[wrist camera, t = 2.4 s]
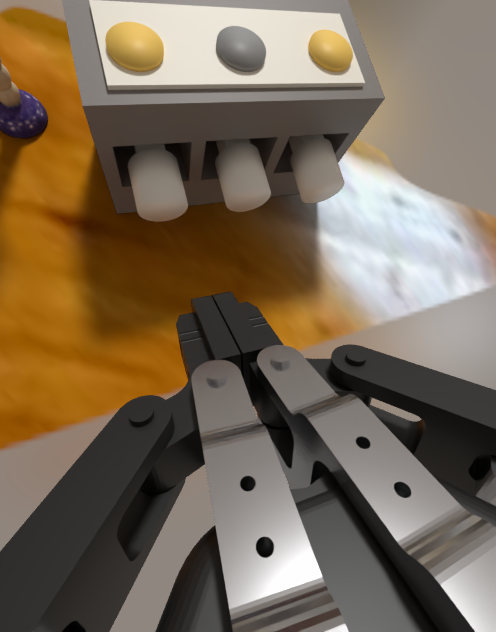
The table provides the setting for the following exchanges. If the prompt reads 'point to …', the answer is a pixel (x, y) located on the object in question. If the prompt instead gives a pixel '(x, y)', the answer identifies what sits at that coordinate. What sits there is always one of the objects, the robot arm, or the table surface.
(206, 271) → the table surface
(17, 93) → the toy lamp
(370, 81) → the button box
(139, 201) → the button left
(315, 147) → the button right
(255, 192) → the button middle
